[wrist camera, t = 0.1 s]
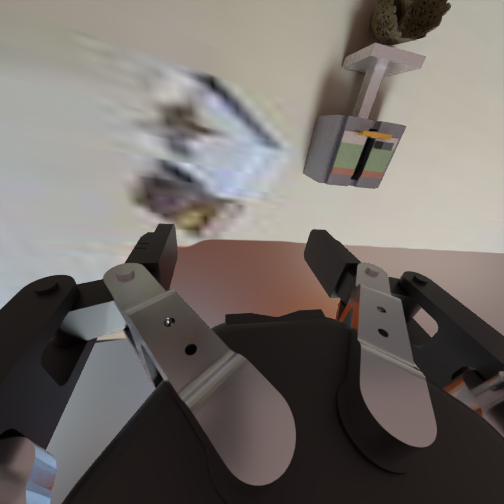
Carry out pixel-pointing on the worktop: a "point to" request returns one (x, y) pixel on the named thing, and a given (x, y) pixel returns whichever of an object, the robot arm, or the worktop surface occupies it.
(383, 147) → the block
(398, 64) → the plunger
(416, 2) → the cup
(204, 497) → the robot arm
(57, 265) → the worktop surface
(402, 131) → the gauge housing
